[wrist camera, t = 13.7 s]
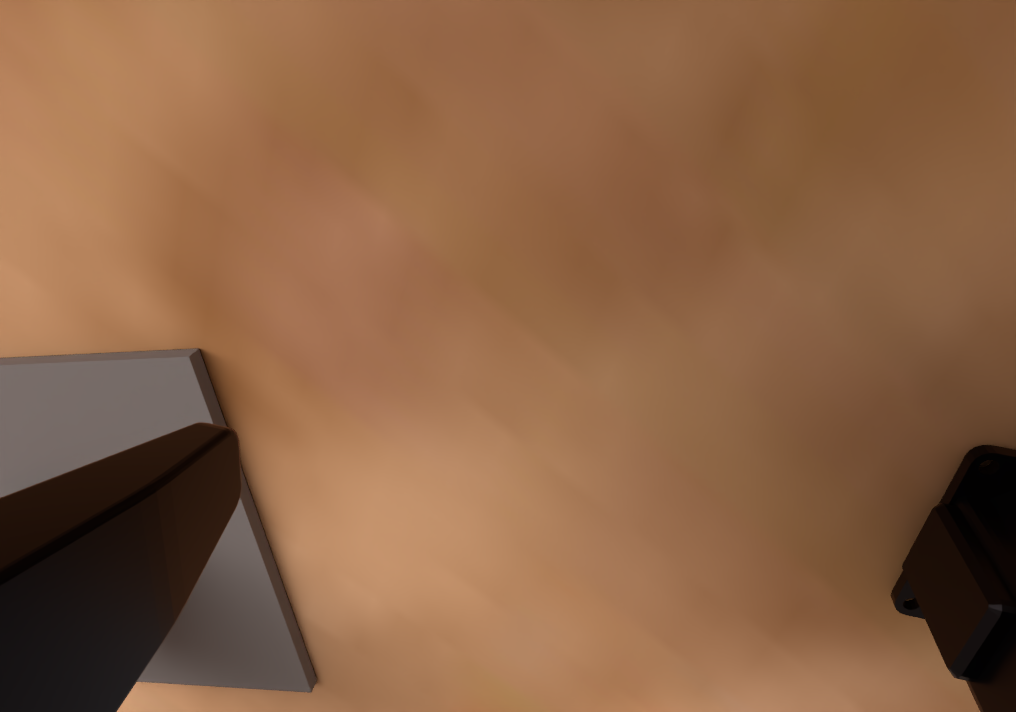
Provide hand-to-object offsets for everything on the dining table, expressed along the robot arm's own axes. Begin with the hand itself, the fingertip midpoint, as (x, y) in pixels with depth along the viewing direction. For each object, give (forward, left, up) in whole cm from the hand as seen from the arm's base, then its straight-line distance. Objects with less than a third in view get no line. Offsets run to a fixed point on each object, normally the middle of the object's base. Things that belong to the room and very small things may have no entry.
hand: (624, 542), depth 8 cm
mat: (+19, +17, -13) cm, 28 cm away
